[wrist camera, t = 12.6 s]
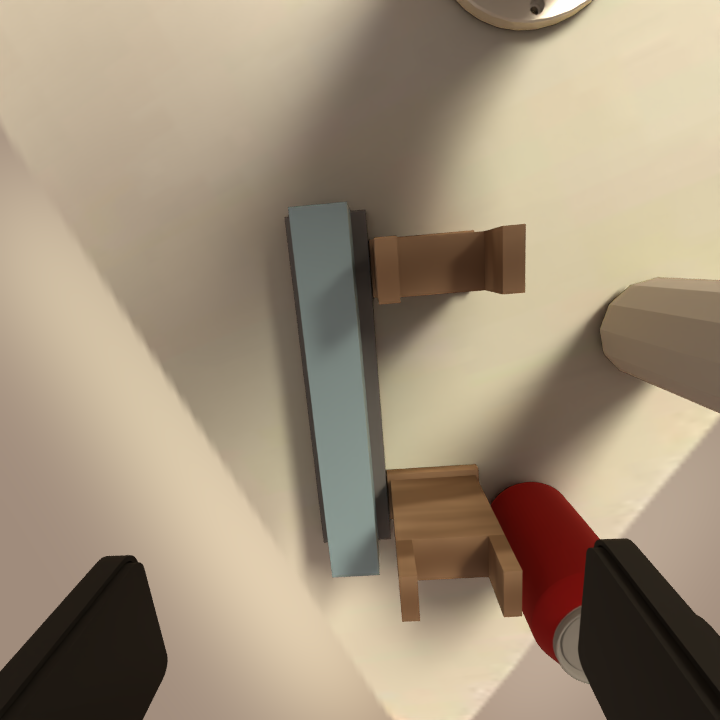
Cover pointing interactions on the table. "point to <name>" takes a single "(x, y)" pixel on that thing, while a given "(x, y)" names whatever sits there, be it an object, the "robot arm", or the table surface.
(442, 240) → the post
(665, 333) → the water bottle
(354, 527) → the rail
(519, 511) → the beverage can
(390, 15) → the table surface
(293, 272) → the mat
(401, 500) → the post
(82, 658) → the robot arm
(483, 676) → the table surface
